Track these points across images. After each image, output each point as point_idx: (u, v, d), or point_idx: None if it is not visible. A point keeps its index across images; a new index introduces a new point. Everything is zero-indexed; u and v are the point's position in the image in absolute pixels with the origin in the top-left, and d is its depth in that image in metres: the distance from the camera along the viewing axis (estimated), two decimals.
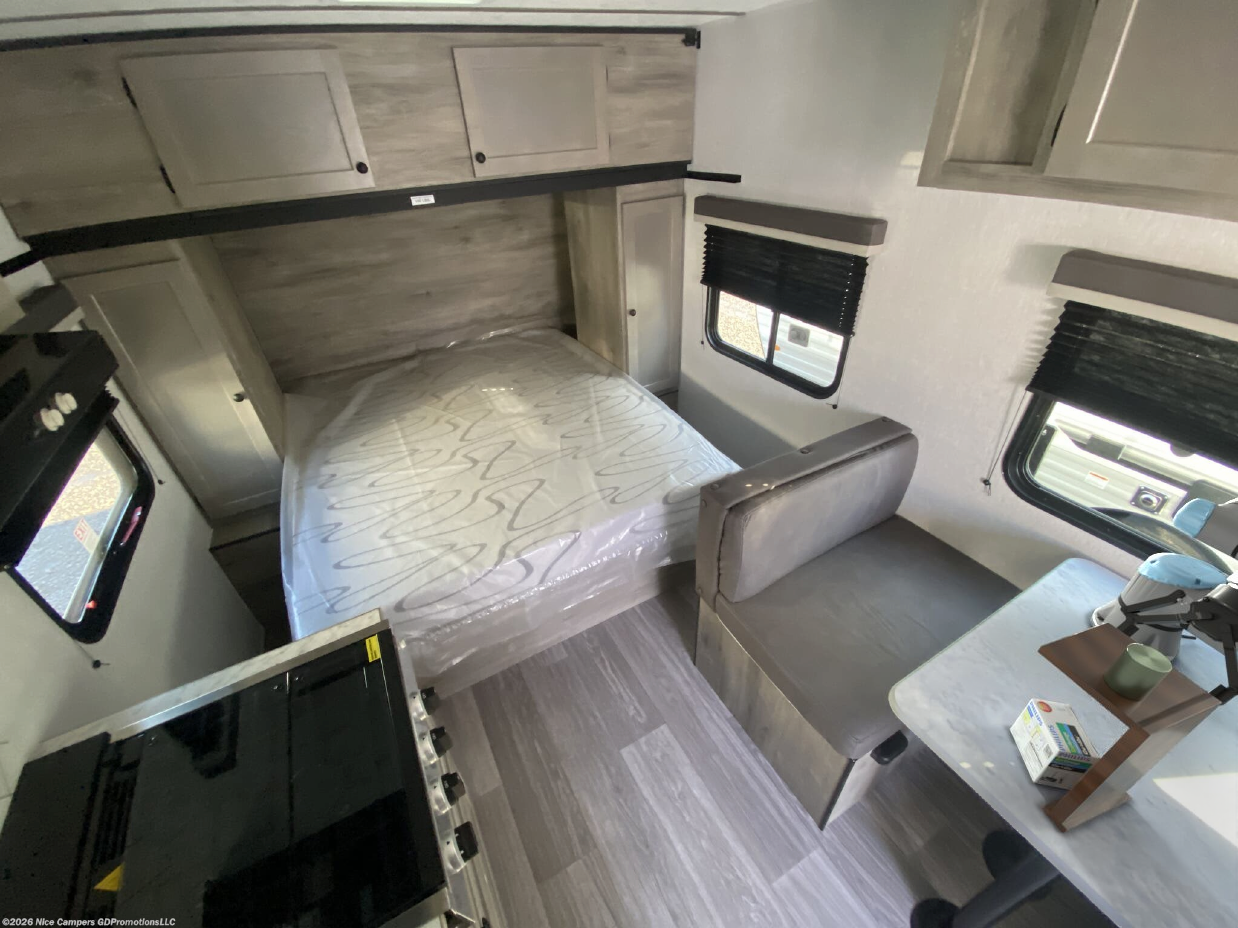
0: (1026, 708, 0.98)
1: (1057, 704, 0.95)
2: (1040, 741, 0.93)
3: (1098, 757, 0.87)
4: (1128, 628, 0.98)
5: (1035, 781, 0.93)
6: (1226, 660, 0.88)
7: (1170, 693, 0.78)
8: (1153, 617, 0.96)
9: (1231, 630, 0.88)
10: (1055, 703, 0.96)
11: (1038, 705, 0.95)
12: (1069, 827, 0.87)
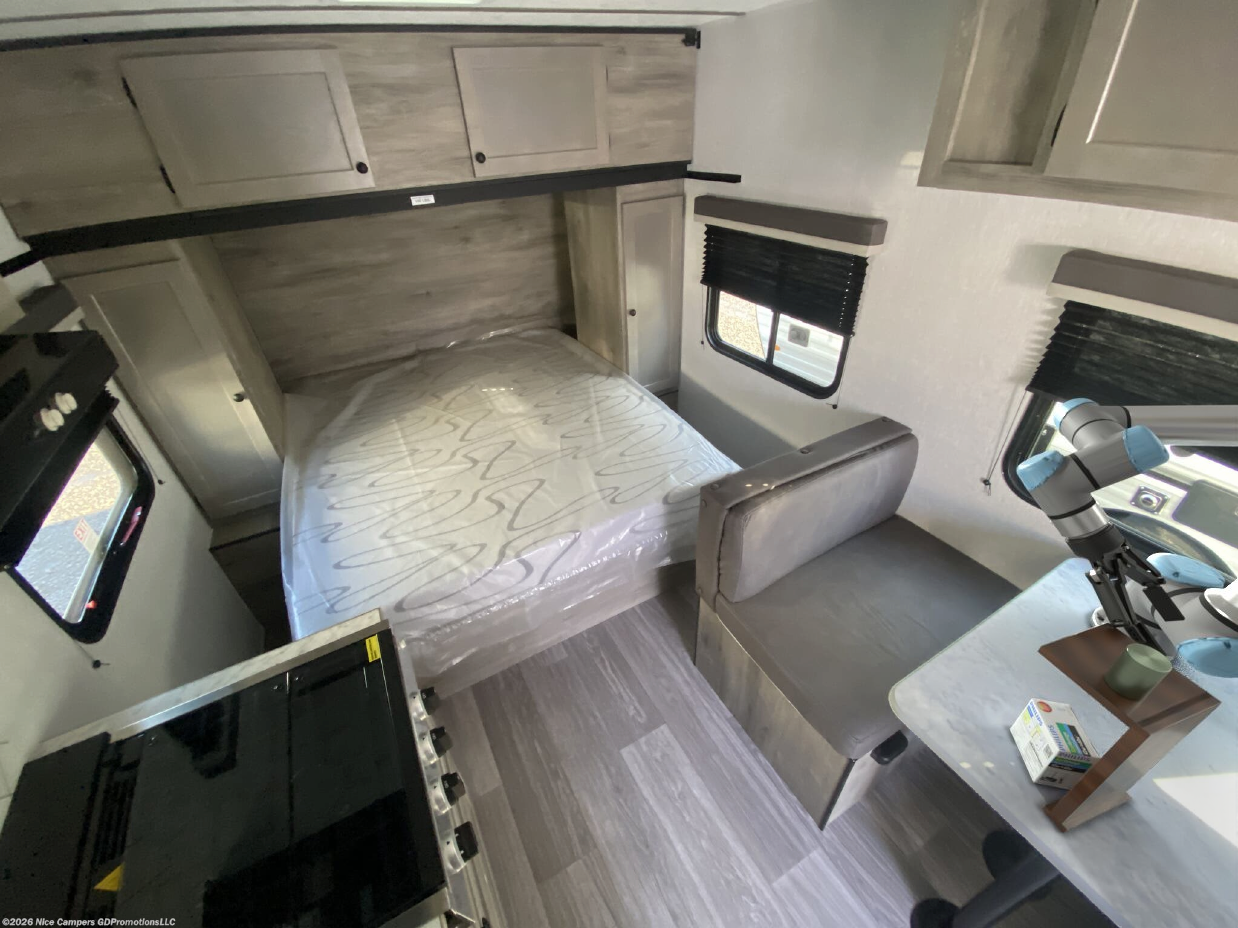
0: (1026, 708, 0.98)
1: (1057, 704, 0.95)
2: (1040, 741, 0.93)
3: (1098, 757, 0.87)
4: None
5: (1035, 781, 0.93)
6: None
7: (1170, 693, 0.78)
8: None
9: None
10: (1055, 703, 0.96)
11: (1038, 705, 0.95)
12: (1069, 827, 0.87)
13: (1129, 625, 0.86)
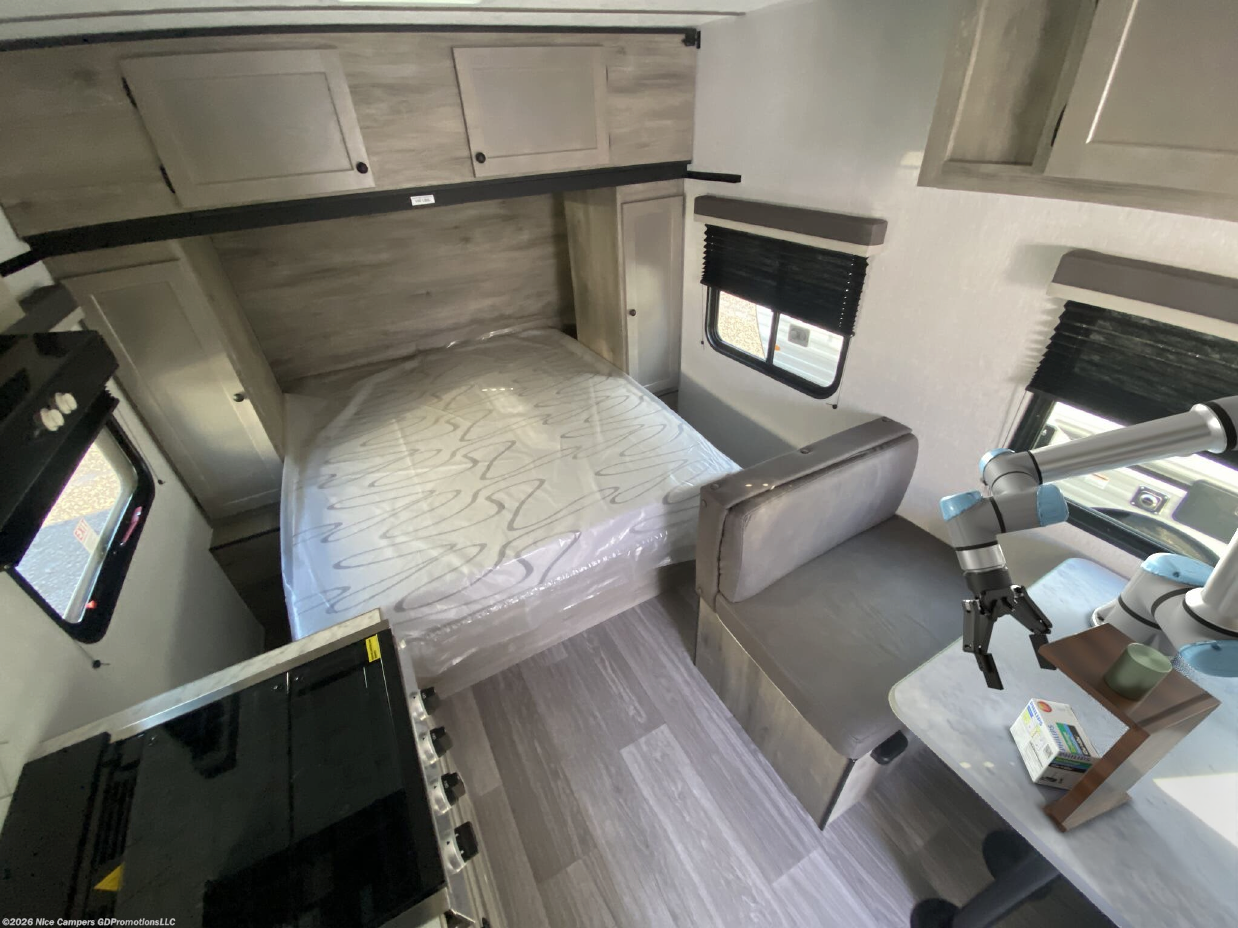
0: (1026, 708, 0.98)
1: (1057, 704, 0.95)
2: (1040, 741, 0.93)
3: (1098, 757, 0.87)
4: None
5: (1035, 781, 0.93)
6: None
7: (1170, 693, 0.78)
8: None
9: None
10: (1055, 703, 0.96)
11: (1038, 705, 0.95)
12: (1069, 827, 0.87)
13: (974, 651, 0.96)
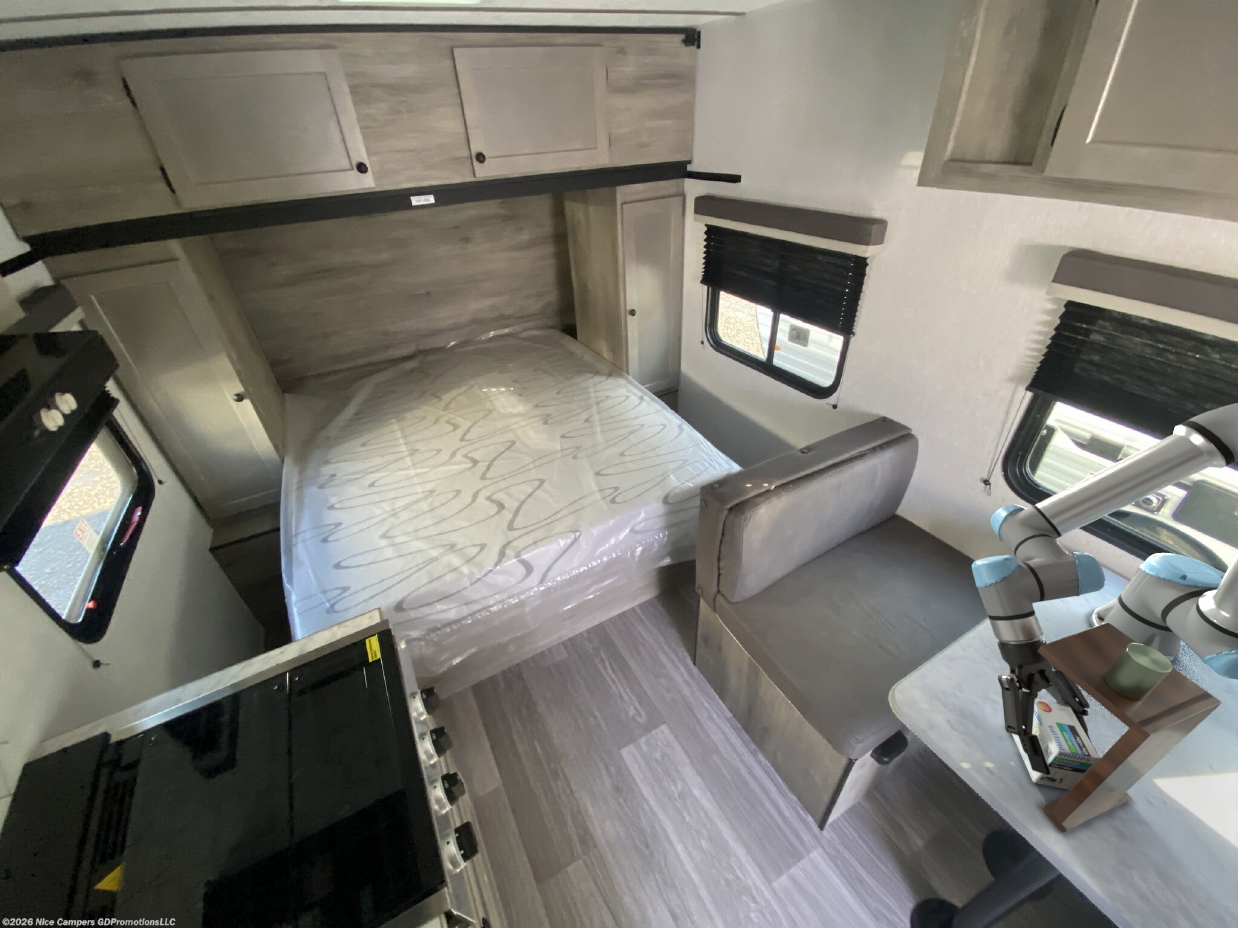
0: None
1: (1057, 704, 0.95)
2: (1040, 741, 0.93)
3: (1098, 757, 0.87)
4: None
5: (1035, 781, 0.93)
6: None
7: (1170, 693, 0.78)
8: None
9: None
10: (1055, 703, 0.96)
11: (1038, 705, 0.95)
12: (1069, 827, 0.87)
13: (1019, 734, 0.91)
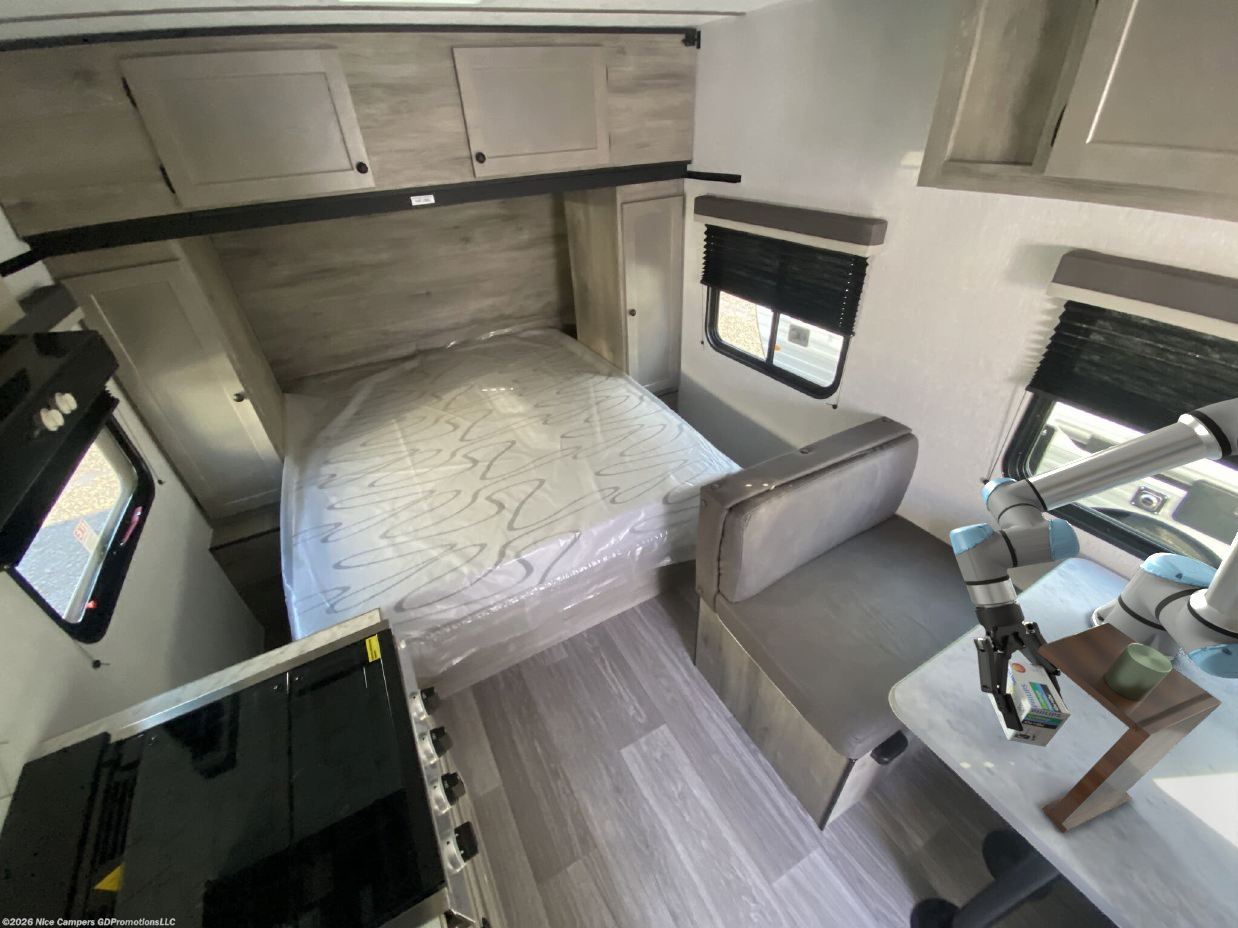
0: None
1: (1031, 666, 0.99)
2: (1014, 700, 0.97)
3: (1068, 713, 0.91)
4: None
5: (1010, 738, 0.97)
6: None
7: (1170, 693, 0.78)
8: None
9: None
10: (1029, 664, 0.99)
11: (1012, 666, 0.99)
12: (1069, 827, 0.87)
13: (993, 693, 0.95)
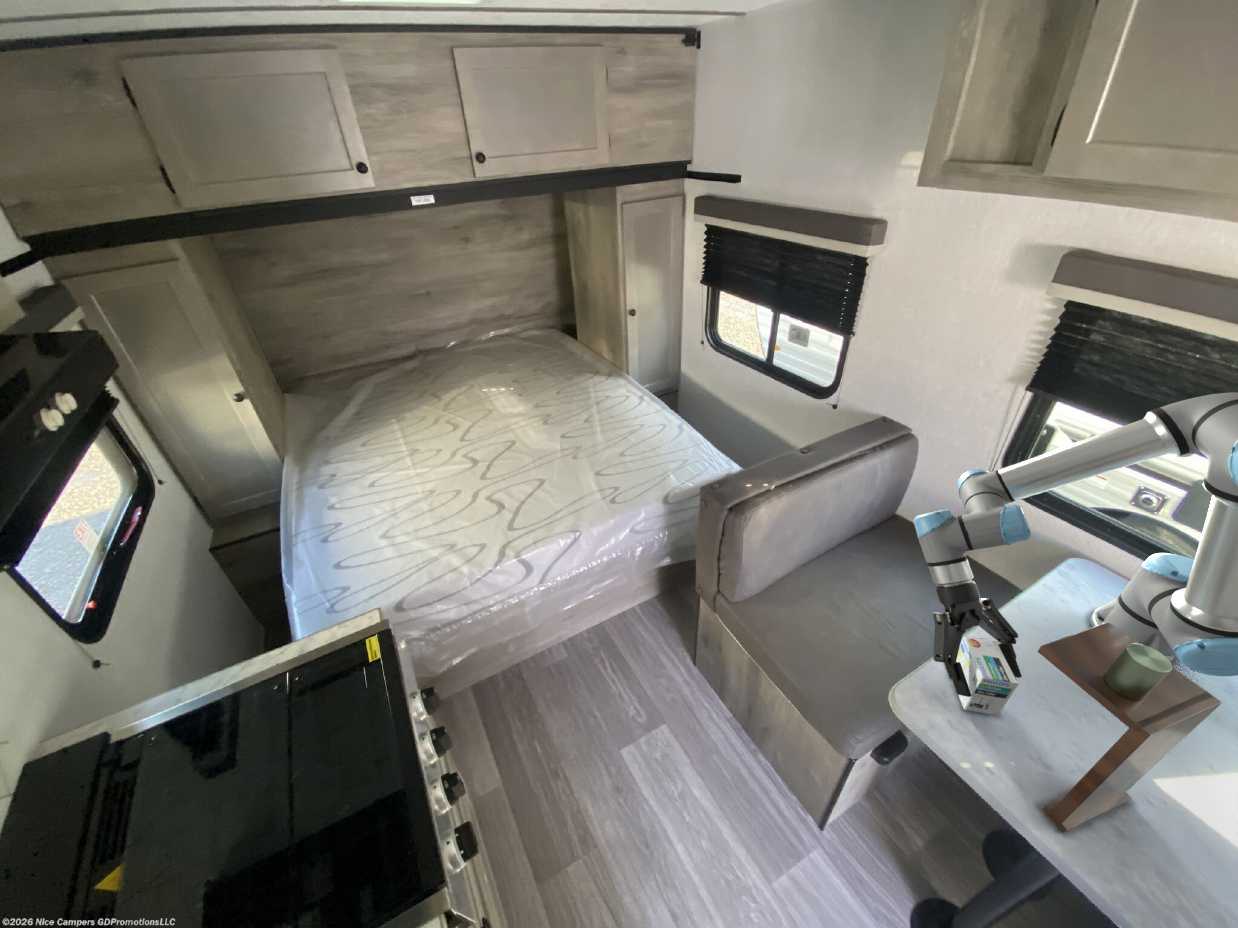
0: (960, 646, 1.10)
1: (986, 641, 1.07)
2: (969, 672, 1.05)
3: (1016, 682, 0.99)
4: None
5: (965, 708, 1.05)
6: None
7: (1170, 693, 0.78)
8: None
9: None
10: (984, 640, 1.08)
11: (969, 642, 1.07)
12: (1069, 827, 0.87)
13: (943, 661, 1.03)
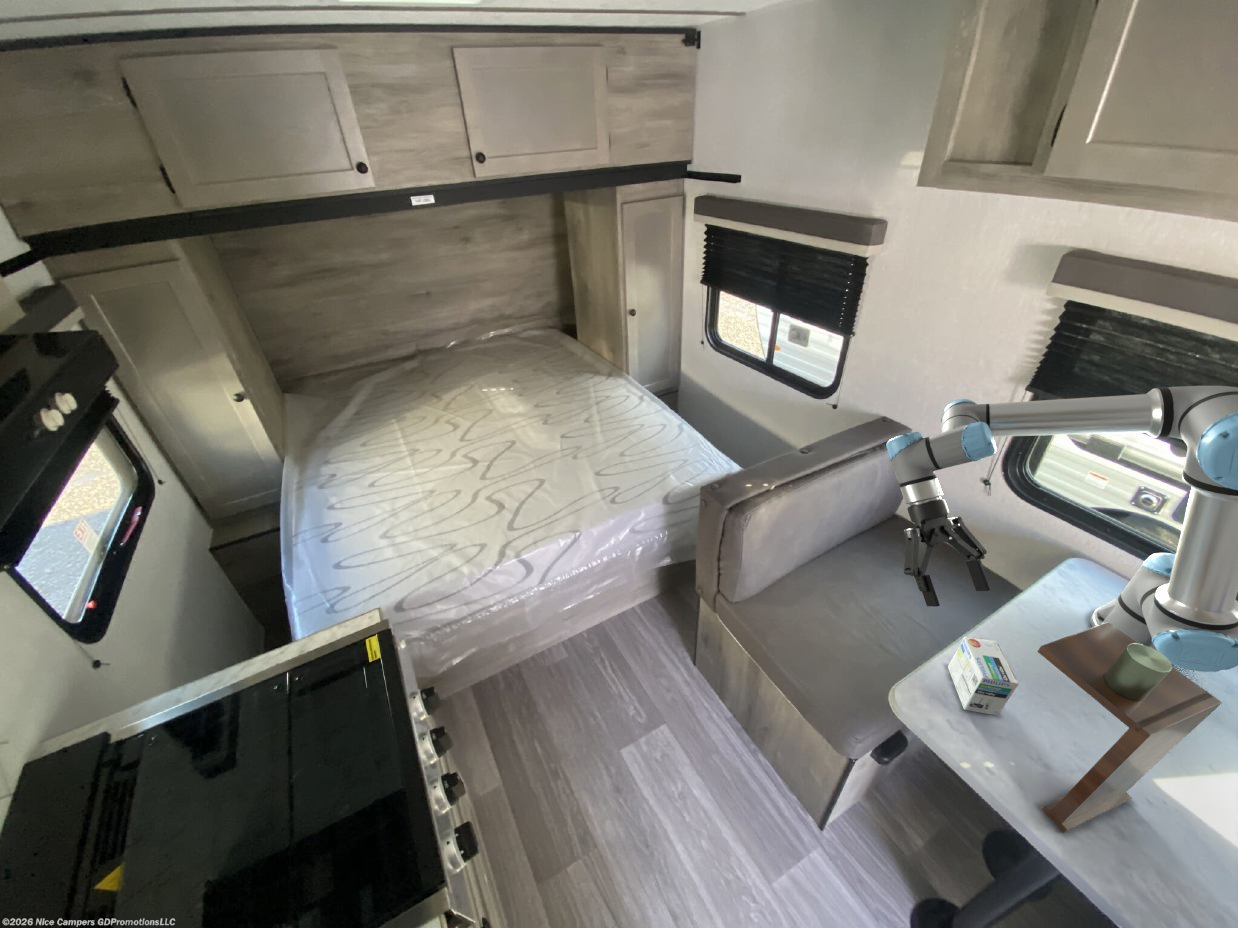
0: (960, 646, 1.10)
1: (986, 641, 1.07)
2: (969, 672, 1.05)
3: (1016, 682, 0.99)
4: None
5: (965, 708, 1.05)
6: None
7: (1170, 693, 0.78)
8: None
9: None
10: (984, 640, 1.08)
11: (969, 642, 1.07)
12: (1069, 827, 0.87)
13: (913, 573, 1.06)
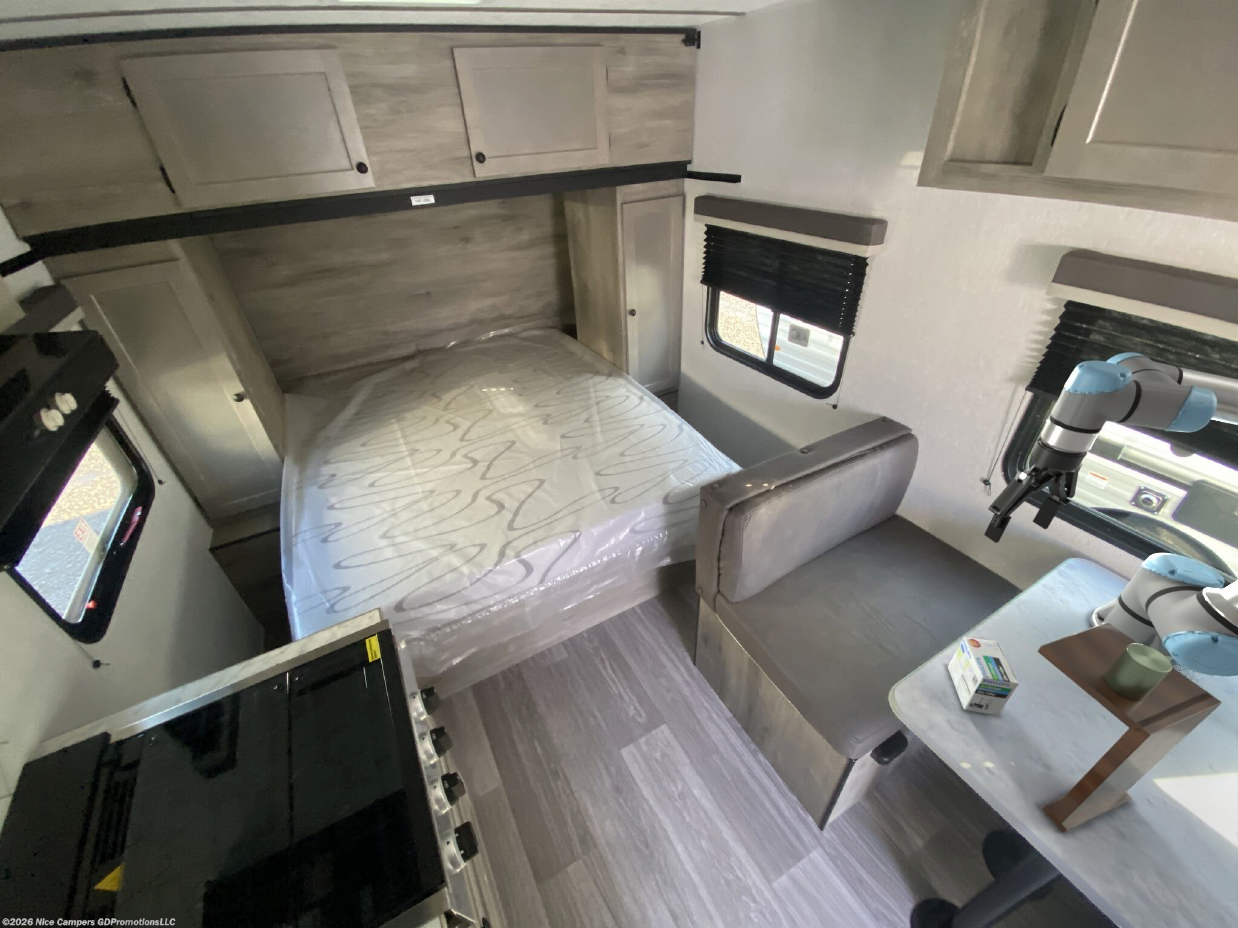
0: (960, 646, 1.10)
1: (986, 641, 1.07)
2: (969, 672, 1.05)
3: (1016, 682, 0.99)
4: None
5: (965, 708, 1.05)
6: None
7: (1170, 693, 0.78)
8: None
9: None
10: (984, 640, 1.08)
11: (969, 642, 1.07)
12: (1069, 827, 0.87)
13: (999, 515, 0.99)
